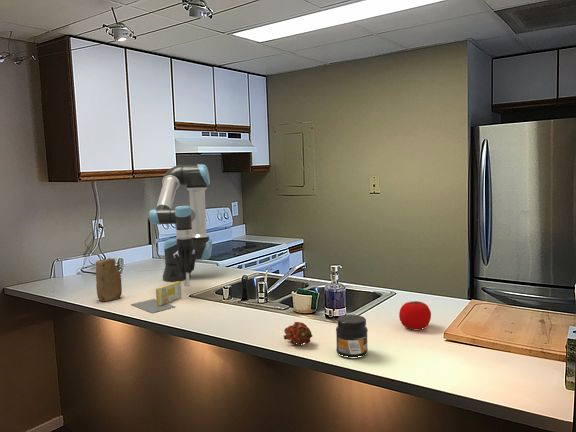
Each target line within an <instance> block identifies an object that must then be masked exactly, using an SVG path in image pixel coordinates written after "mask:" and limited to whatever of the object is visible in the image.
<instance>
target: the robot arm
mask: <svg viewBox="0 0 576 432" xmlns="http://www.w3.org/2000/svg"><path fill="white" fill-rule="evenodd" d="M161 184H162V187H161V190H160V193H159V198H158V200H157V203H156V204H157V205H156V208H154V209H151V210H149V212H148V219H149V220H148V221H149V222H150V224H151V225H175V226H176V227H175V232H176V237H173V238H169V239H166V240H165V241H164V244H163V245H164V247H163V251H164V265H165V266H164V270H163V272H162V273H163V274H162V280H163V281H164V282H177V281H181V282H182V281H183V286H184V287H186V288H187V287H191V285H190V283H191V282H190V279H191V277H192V276H191V273H192V272H193V271H194V270H195V265H196V264H195V263H196V261H204V260H205V261H206V260H209V259H210V258H211V256H212V250H213V249H212V248H213V239H211V238H210V235H209V234H208V232H207V220H206V219H207V218H206V217H207V215H206V190H207V189H208V186H209V185H210V184H211V180H210V173H209V168H208V167H207V165H206V164H201V163H200V164H199V163H197V164H194V163H193V164H177V165H174V166H173V167H171V168H170V169H169V170H168V171H166V172H165V173H164V175H163V177H162V182H161ZM180 186H186V190H187V191H188V194H189V205H179V206H176V207H175V208H173V205H174V201H175V196H176V192H177V189H179V187H180Z"/></svg>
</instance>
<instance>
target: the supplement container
mask: <svg viewBox="0 0 576 432" xmlns="http://www.w3.org/2000/svg"><path fill="white" fill-rule="evenodd" d="M336 321H337V323H336V324H337V326H336V327H335V333H336V334H335V335H336V350H335V351H336V352H337V354H338V355H339V354H340V355H343V356H348V357H358V356H363V355H365V354H366V353H367V354H368V352H369V351H368V332H369V331H368V330H369V329H368V327H367V318H365V317H364V316H362V315H356V314H344V315H340V316H339V317H338V318H337V319H336ZM367 354H366V355H367ZM340 355H339V356H340ZM366 355H365V356H366ZM363 357H364V356H363Z"/></svg>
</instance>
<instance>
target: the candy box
mask: <svg viewBox="0 0 576 432" xmlns="http://www.w3.org/2000/svg"><path fill="white" fill-rule="evenodd" d="M181 282H182V281H173V282H171V283H168V284H165V285H163V286H159V287H156V288H155V296H156V298H155V299H156V300H157V306H161V305H163V304H166V303H167V304H169V303H171V302H173V301H176V300H179V299H182V297H183V296H182V283H181Z"/></svg>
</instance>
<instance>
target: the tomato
mask: <svg viewBox="0 0 576 432" xmlns="http://www.w3.org/2000/svg"><path fill="white" fill-rule="evenodd" d="M398 314H399V315H398V318H399V321H400V323H401V325H402V326H403V327H405V328H406V327H407V329H409V328H411V329H410V330H412V329H421V330H423V329H422V328H424V329H426V328H427V327H428V326H429V323H430V322H431V318H432V311H431V309H430V307H429V306H428V304H426V303H425V302H423V301H415V300H413V301H411V300H409V301H407V302H404V304H402V305H401V307H400V309H399V312H398ZM425 327H426V328H425Z"/></svg>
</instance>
